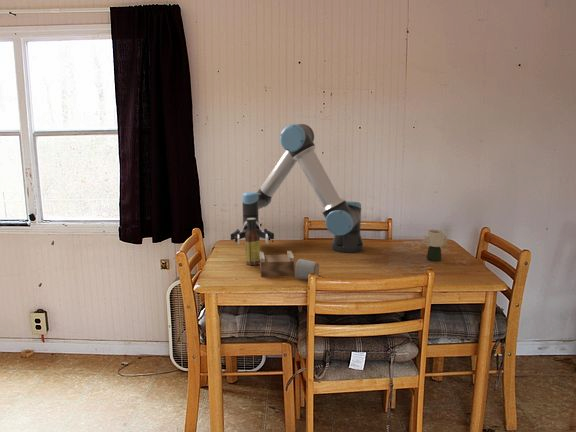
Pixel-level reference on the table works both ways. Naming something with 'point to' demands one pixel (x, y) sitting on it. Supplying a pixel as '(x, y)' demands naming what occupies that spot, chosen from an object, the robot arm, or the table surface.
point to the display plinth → (276, 265)
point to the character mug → (435, 243)
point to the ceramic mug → (305, 268)
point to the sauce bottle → (252, 243)
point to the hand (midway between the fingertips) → (253, 241)
